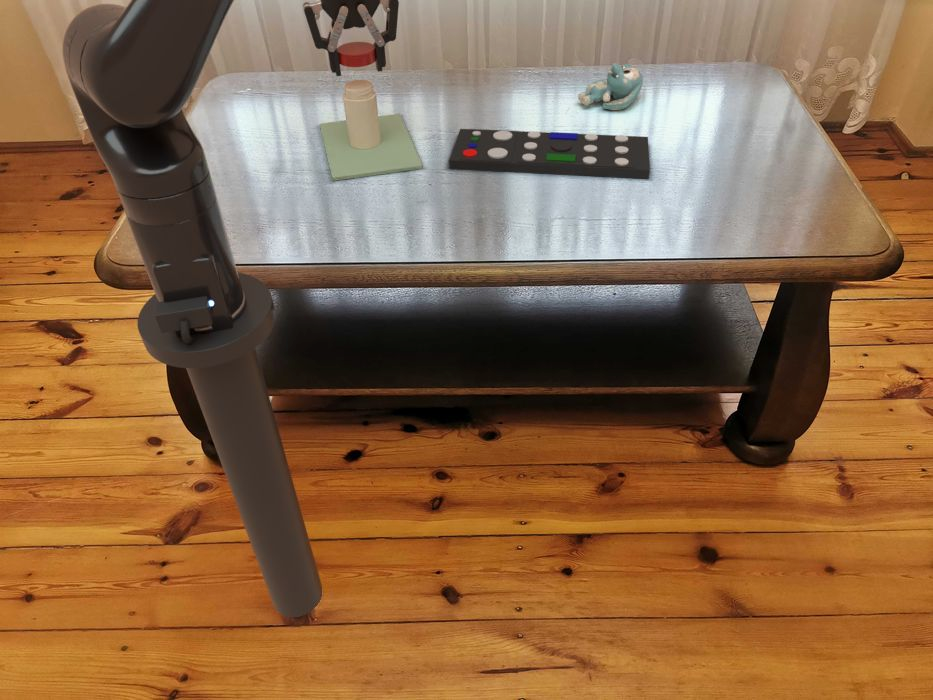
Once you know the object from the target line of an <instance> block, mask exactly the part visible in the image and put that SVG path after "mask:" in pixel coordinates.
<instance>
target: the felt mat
mask: <svg viewBox="0 0 933 700" xmlns="http://www.w3.org/2000/svg"><path fill="white" fill-rule="evenodd" d="M378 116H379V125H380V135H381V143H380V144H379V145H378V146H376V147H374V148H370V149H356V148H353V147H351V146H350V144H349V138H348V131H347V123H346V119H345V120H337V121H330V122H322V123H319V128H320V133H321V136H322V137H321V138H322V141H323V145H324V149H325V153H326V158H327V162H328V166H329V171H330V174H331V175H330V176H331V180H332V182H336V181H343V180H351V179H357V178H359V179H360V178H364V177H373V176H380V175H386V174H393V173H394V174H395V173H400V172H408V171H414V170H415V171H417V170H422V169H424V165H423V163H422V160H421V158H420V156H419V153H418V151H417V149H416V146H415V144H414V143H413V140H412V138H411V136H410V133H409V130H408V128H407V126H406V125H405V122H404V119H403V117H402V114H401V113H394V114H393V113H392V114H385V115H378Z"/></svg>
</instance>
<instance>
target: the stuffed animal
mask: <svg viewBox="0 0 933 700" xmlns="http://www.w3.org/2000/svg"><path fill="white" fill-rule="evenodd" d="M643 82H644V78H643V74H642V73H641V71H639V70H638V69H637V68H635V67H633V66H632V65H631V64H629V63H625V64H623V65H621V64H619V63H617V62H614V63H612V64H611V68H610V70H609V71H608V72H607V75H606V78H602V79H599V80H598V79H597V80H595V81H593V82H591V83H590V84H588V86H587V87H586V88H585V91H582V92H579V93H578V94H577V101H579V102H580V103H582V104H583V105H584V106H588V105H590V104H592V103H594V101H595V102H601V101H603V104H602V109H607V110H609V111H610V110H611V111H620V110H621V111H622V110H624V109H626V108H628V107H629V106H630V105H631V104H632V103H633V102H634V101H635V100H636V99H637V98H638V97H639V95H640V93H641V90H642V88H643ZM611 97H612V98H614V99H615V100H612V101H611Z"/></svg>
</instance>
